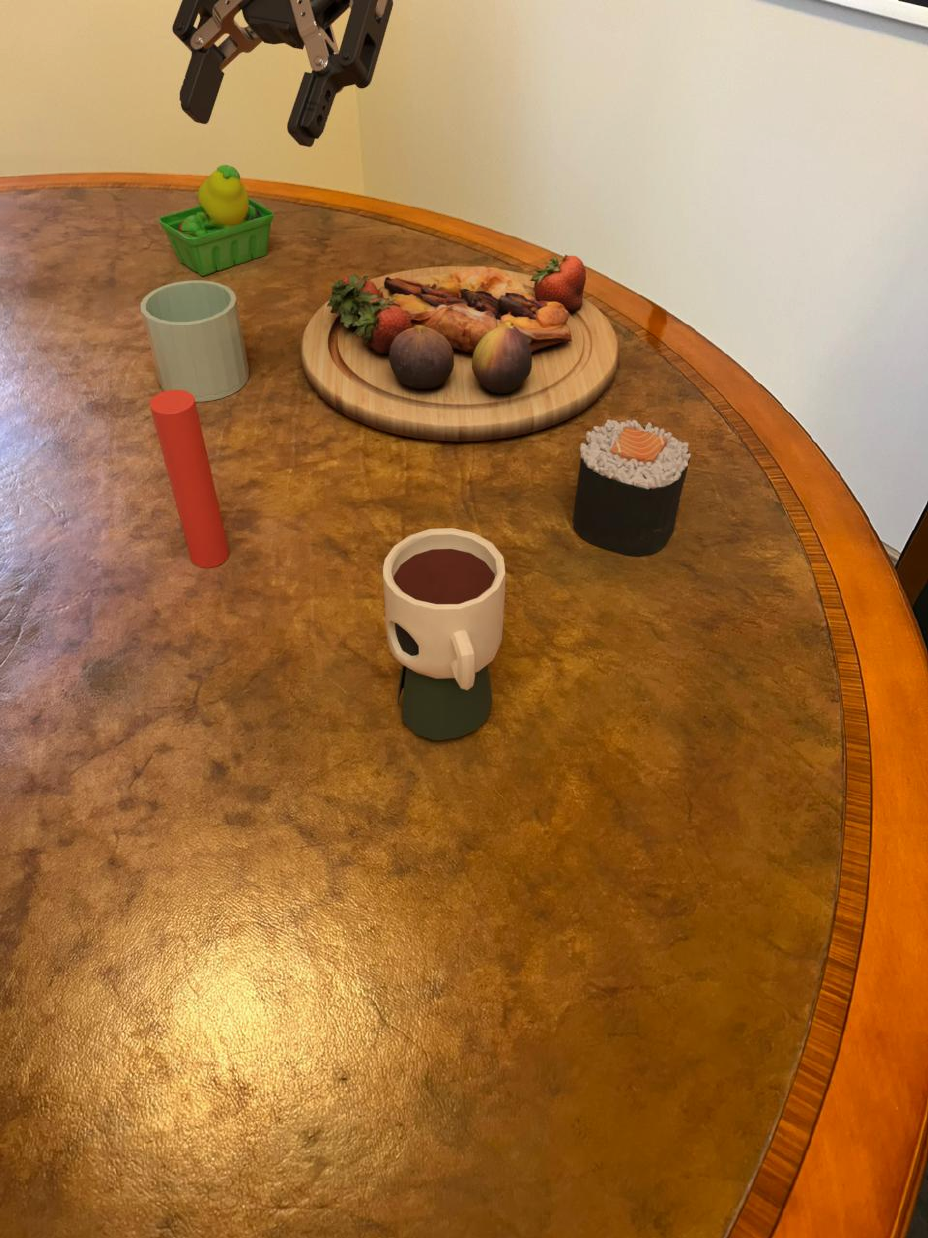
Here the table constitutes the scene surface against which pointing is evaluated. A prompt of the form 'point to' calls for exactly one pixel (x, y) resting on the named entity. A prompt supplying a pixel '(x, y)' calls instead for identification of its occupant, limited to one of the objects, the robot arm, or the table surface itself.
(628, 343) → the table surface
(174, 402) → the red cylindrical rod
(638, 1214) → the table surface
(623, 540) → the sushi
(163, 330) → the tumbler
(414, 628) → the character mug
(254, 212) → the fruit basket
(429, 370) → the wooden plate
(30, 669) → the table surface
